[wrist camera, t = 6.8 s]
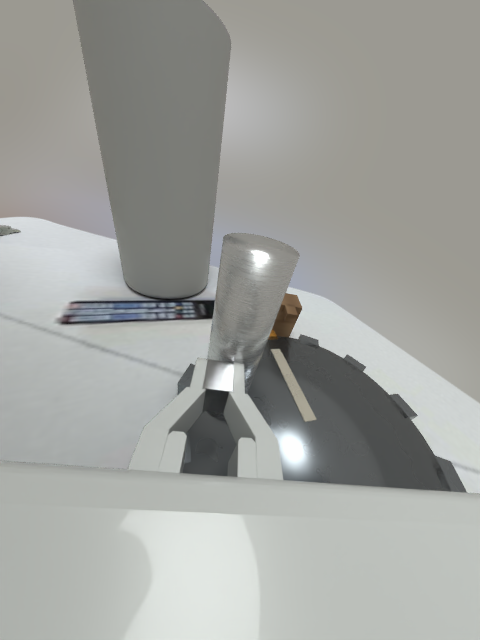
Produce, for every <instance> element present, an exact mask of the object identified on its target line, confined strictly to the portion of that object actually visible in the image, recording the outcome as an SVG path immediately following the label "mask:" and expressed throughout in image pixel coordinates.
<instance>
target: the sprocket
mask: <svg viewBox="0 0 480 640" xmlns="http://www.w3.org/2000/svg"><path fill="white" fill-rule="evenodd" d="M299 256H300V255H299V253H298V251H296V250H295V249H294V248H292V247H291V246H288V245H287V244H285V243H282V242H280V241H277V240H274V239H271V238H268V237H264V236H259V235H254V234H246V233H231V234H227V235H225V236H224V237H223V245H222V253H221V260H220V268H219V275H218V283H217V290H216V298H215V305H214V313H213V320H212V328H211V335H210V343H209V351H208V358H207V359H210V360H217V361H225V362H233V363H240V364H244V374H245V394H248V395H249V397H250V398H251V400H252V401H253V403H254V404H255V406H256V407H257V409H258V410H259V412H260V413H261V415H262V416H263V418H264V420H265V421H266V423H267V424H268V426H269V427H270V429H271V430H272V432H273V433H274V435H275V436H276V438H277V439H278V445H279V452H280V459H281V466H282V474H283V480H289V481H304V482H318V483H333V484H347V485H362V486H377V487H391V488H406V489H420V490H435V491H450V492H464V493H467V492H466V490H465V488H464V486H463V484H462V482H461V480H460V478H459V476H458V474H457V473H456V471H455V469H454V467H453V465H452V463H451V462H450V461H448V460H445V459H442V458H440V457H437V456H435V455H434V454H433V452H432V450H431V449H430V447H429V445H428V444H427V442H426V441H425V439H424V437H423V436H422V434H421V433H420V432H419V430H418V429H417V427H416V426H415V425H414V423H413V422H412V421H411V420H412V419H413V418H415V417H416V416H418V415H417V414H416V413H415V412H414V411H413V410H412V409H411V408H410V407H409V406H408V404H407V403H406V402H405V401H404V400H403V399H402V398H401V397H400V396H399V395H398V394H393V395H389V394H388V393H387V392H386V391H385V390H383V389H382V388H381V387H380V386H379V385H378V384H377V383H376V382H375V381H374V380H372V379H371V378H370V377H369V376H368V375H366V374H365V373H364V372H363V371H364V369H365V368H366V366H364V365H363V364H361V363H359V362H358V361H356V360H355V359H353V358H352V357H350V356H349V355H346V357H345V358H344V359H343V358H342V357H340V356H338V355H336V354H334V353H332V352H331V351H328V350H326V349H324V348H322V347H320V346H319V345H318V340H316V339H313V338H310V337H307V336H304V335H300V337H299V339H294V338H289V337H281V336H277V335H276V334H275V332H274V330H272V327H273V325H274V322H275V319H276V317H277V314H278V311H279V309H280V306H281V304H282V301H283V298H284V296H285V293H286V290H287V288H288V285H289V282H290V280H291V277H292V275H293V272H294V269H295V267H296V264H297V261H298V259H299ZM194 368H195V365H193V364H190V366H189V367H188V369H187V370H186V372H185V373H184V375H183V376H182V377H181V379H180V380H179V382H178V395H179V394H180V393H181V392H182V391H183V390H184V389H185V388H186V387H190V384H191V380H192V376H193V372H194ZM186 436H187V440H186V452H185V462H184V467H183V472H182V473H187V474H201V475H216V476H227V475H228V462H229V460H230V458H231V455H232V453H233V451H234V449H235V447H236V442H235V440H234V438H233V435H232V433H231V431H230V429H229V426H228V424H227V422H226V420H225V417H224V415H223V413H218V412H208V411H202V413H201V415H200V416H199V417H198V419H197V420H196V421H195V422H194V424H193V425H192V426H191V428H190V429H189V430H188V431H187V433H186Z"/></svg>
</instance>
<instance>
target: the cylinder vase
mask: <svg viewBox="0 0 480 640" xmlns="http://www.w3.org/2000/svg"><path fill="white" fill-rule="evenodd" d="M73 4H74V9H75V15H76V20H77V25H78V31H79V36H80V42H81V47H82V53H83V58H84V64H85V69H86V74H87V80H88V85H89V91H90V96H91V102H92V107H93V112H94V118H95V123H96V129H97V134H98V140H99V145H100V150H101V156H102V161H103V166H104V172H105V178H106V182H107V188H108V193H109V199H110V205H111V210H112V215H113V221H114V226H115V232H116V237H117V243H118V248H119V253H120V259H121V264H122V270H123V275H124V279H125V281H126V283H127V284H128V286H129V287H131V288H132V289H133V290H135V291H137V292H139V293H141V294H143V295H146V296H150V297H155V298H162V299H178V298H185V297H189V296H192V295H195V294H197V293H199V292H200V291H202V290H203V289H204V288H205V286H206V285H207V282H208V274H209V264H210V254H211V253H210V252H211V243H212V233H213V223H214V213H215V203H216V193H217V182H218V173H219V162H220V152H221V142H222V132H223V121H224V112H225V102H226V91H227V81H228V71H229V61H230V50H231V40H230V36H229V33H228V31H227V29H226V27H225V25H224V24H223V22H222V21H221V20H220V18H219V17H218V16H217V15H216V13H215V12H214V11H213V10H212V9H211V8H210V7H209V6H208V5H207V4H206V3H205V2H204V1H203V0H73Z"/></svg>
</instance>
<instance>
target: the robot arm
mask: <svg viewBox="0 0 480 640" xmlns="http://www.w3.org/2000/svg"><path fill="white" fill-rule="evenodd" d="M202 411H208V412H218V413H223V415H224V417H225V420H226V422H227V424H228V426H229V429H230V431H231V433H232V435H233V438H234V440H235V442H236V447H235V449H234V451H233V453H232V455H231V458H230V460H229V462H228V475H227V476H216V475H201V474H187V473H182V472H183V467H184V462H185V452H186V440H187V436H186V433H187V431H188V430H189V429H190V428H191V426H192V425H193V424H194V422H195V421H196V420H197V419H198V417H199V416H200V415H201V413H202ZM0 640H480V494H479V493H464V492H450V491H435V490H420V489H406V488H391V487H377V486H362V485H347V484H333V483H318V482H304V481H289V480H283V474H282V466H281V459H280V452H279V445H278V439H277V438H276V436H275V435H274V433H273V432H272V430H271V429H270V427H269V426H268V424H267V423H266V421H265V420H264V418H263V416H262V415H261V413H260V412H259V410H258V409H257V407H256V406H255V404H254V403H253V401H252V400H251V398H250V397H249V395H248V394H245V374H244V364H240V363H233V362H225V361H217V360H210V359H203V358H197V360H196V364H195V368H194V372H193V376H192V380H191V384H190V387H186V388H185V389H184V390H183V391H182V392H181V393H180V394H179V395H177V396H176V397H175V398H174V399H173V400H172V401H171V402H170V403H169V404H168V405H167V406H166V407H165V408H164V409H163V410H161V411H160V412H159V413H158V414H157V415H156V416H155V417H154V418H153V419H152V420H151V421H150V422H149V423H148V424H147V425H146V426H144V428H143V431H142V433H141V436H140V438H139V441H138V443H137V446H136V448H135V451H134V454H133V456H132V459H131V461H130V464H129V466H128V469H114V468H99V467H85V466H70V465H55V464H41V463H26V462H12V461H0Z"/></svg>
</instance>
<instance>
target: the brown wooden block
mask: <svg viewBox="0 0 480 640" xmlns="http://www.w3.org/2000/svg"><path fill="white" fill-rule="evenodd" d="M301 310H302V306H301V304H300V302H299V299H298V297H297V295H292V294H287V293H285V296H284V298H283V301H282V304H281V306H280V309H279V311H278V314H277V317H276V319H275V322H274V325H273V327H272V330H274V332H275V334H276V335H277V336H281V337H289V336H290V334H291V332H292V329H293V327H294V325H295V323H296V321H297V319H298V316H299V314H300V312H301Z"/></svg>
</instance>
